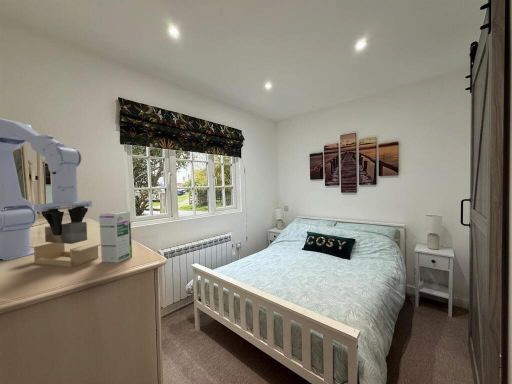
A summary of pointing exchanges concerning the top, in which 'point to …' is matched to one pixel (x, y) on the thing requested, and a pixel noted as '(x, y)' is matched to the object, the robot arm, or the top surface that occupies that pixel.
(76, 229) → the box
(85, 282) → the top surface
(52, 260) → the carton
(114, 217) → the syrup box
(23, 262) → the top surface
